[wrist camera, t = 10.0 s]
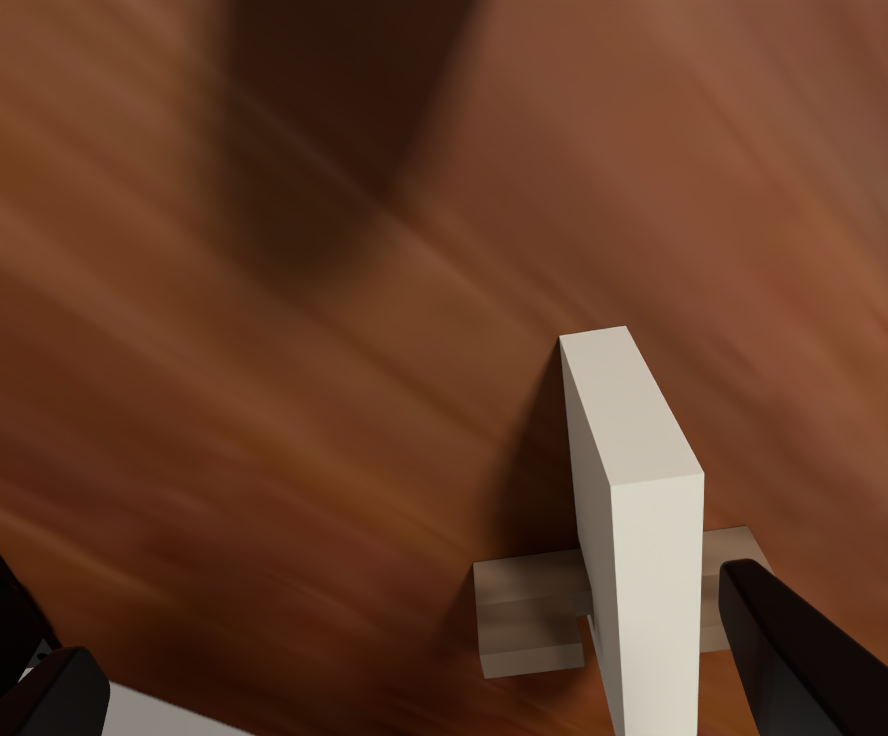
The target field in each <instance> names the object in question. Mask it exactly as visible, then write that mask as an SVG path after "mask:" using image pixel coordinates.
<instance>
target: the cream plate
mask: <svg viewBox="0 0 888 736" xmlns="http://www.w3.org/2000/svg"><path fill="white" fill-rule="evenodd" d="M559 339H560V350H561V360H562V371H563V381H564V392H565V403H566V413H567V424H568V435H569V445H570V456H571V466H572V477H573V488H574V498H575V509H576V519H577V530H578V538H579V542H580V545H581V549H582V553H583V557H584V561H585V565H586V569H587V573H588V577H589V581H590V585H591V589H592V598H593V610H594V614H593V615H587V617H588V622H589V626H590V630H591V634H592V638H593V643H594V647H595V651H596V655H597V660H598V664H599V668H600V672H601V676H602V681H603V685H604V689H605V693H606V697H607V702H608V706H609V710H610V714H611V718H612V723H613V727H614V731H615V735H616V736H697V711H698V676H699V640H700V605H701V570H702V535H703V499H704V472H703V470H702V468H701V466H700V464H699V463H698V461H697V459H696V457H695V455H694V453H693V451H692V449H691V448H690V446H689V444H688V442H687V440H686V438H685V436H684V434H683V433H682V431H681V429H680V427H679V425H678V423H677V421H676V419H675V418H674V416H673V414H672V412H671V410H670V408H669V406H668V404H667V403H666V401H665V399H664V397H663V395H662V393H661V391H660V389H659V388H658V386H657V384H656V382H655V380H654V378H653V376H652V374H651V373H650V371H649V369H648V367H647V365H646V363H645V361H644V359H643V358H642V356H641V354H640V352H639V350H638V348H637V346H636V344H635V343H634V341H633V339H632V337H631V335H630V333H629V331H628V329H627V328H626V326H620V327H614V328H607V329H601V330H594V331H588V332H581V333H575V334H568V335H562V336H559Z"/></svg>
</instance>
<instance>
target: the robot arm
mask: <svg viewBox="0 0 888 736" xmlns="http://www.w3.org/2000/svg"><path fill="white" fill-rule="evenodd" d="M718 608H719V614H720V618H721V621H722V624H723V627H724V630H725V634H726V637H727V640H728V643H729V646H730V649H731V652H732V655H733V658H734V661H735V664H736V667H737V670H738V673H739V676H740V679H741V682H742V685H743V688H744V691H745V694H746V697H747V700H748V703H749V706H750V709H751V712H752V715H753V718H754V721H755V724H756V727H757V729H758V732H759V735H760V736H888V666H886V665H885V664H884V663H883V662H881V661H880V660H879V659H878V658H876V657H875V656H874V655H873V654H871V653H870V652H869V651H868V650H866V649H865V648H864V647H863V646H861V645H860V644H859V643H858V642H856V641H855V640H854V639H853V638H851V637H850V636H849V635H848V634H846V633H845V632H844V631H843V630H842V629H840V628H839V627H838V626H837V625H835V624H834V623H833V622H832V621H830V620H829V619H828V618H827V617H825V616H824V615H823V614H822V613H820V612H819V611H818V610H817V609H815V608H814V607H813V606H812V605H810V604H809V603H808V602H807V601H805V600H804V599H803V598H802V597H800V596H799V595H798V594H797V593H795V592H794V591H793V590H792V589H790V588H789V587H788V586H787V585H786V584H784V583H783V582H782V581H781V580H779V579H778V578H777V577H776V576H774V575H773V574H772V573H771V572H769V571H768V570H767V569H766V568H764V567H763V566H762V565H761V564H759V563H758V562H757V561H755V560H753V559H750V558H744V559H737V560H729V561H724V562H722V563H721V565H720V568H719V589H718ZM32 667H34V668H33V669H32V670H31V671H30V672H29V673H28V674H27V675H26V676H25V677H24V678H23V679H22V680H21V681H20V682H18V681H19V679H20V677H21V676H22V674H23V672H24V671H25V669H26V668H32ZM109 699H110V684H109V681H108V678H107V677H106V675H105V674H104V672H103V671H102V669H101V668H100V666H99V665H98V663H97V662H96V660H95V658H94V657H93V655H92V654H91V652H90V651H89V650H88V649H87V648H85V647H83V646H74V647H67V648H61V647H60V646H59V644H58V643H57V641H56V640H55V638H54V637H53V636H52V634H51V633H50V631H49V630H48V628H47V627H46V625H45V624H44V622H43V621H42V619H41V618H40V617H39V615H38V614H37V612H36V611H35V609H34V608H33V606H32V605H31V603H30V602H29V601H28V599H27V598H26V596H25V595H24V593H23V592H22V590H21V589H20V587H19V586H18V585H17V583H16V582H15V580H14V579H13V577H12V576H11V574H10V573H9V571H8V570H7V568H6V567H5V566H4V564H3V563H2V561H1V560H0V736H101V734H102V730H103V726H104V721H105V716H106V712H107V707H108V703H109Z"/></svg>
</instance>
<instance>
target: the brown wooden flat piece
mask: <svg viewBox="0 0 888 736" xmlns="http://www.w3.org/2000/svg"><path fill="white" fill-rule="evenodd" d="M744 558H750V559H753V560H755V561H757V562H758V563H759V564H761V565H762V566H763V567H764V568H766V569H767V570H768V571H769V572H771V573H772V574H773V575H774V573H773V571H772V569H771V567H770V566H769V564H768V562H767V560H766V559H765V557H764V555H763V553H762V551H761V550H760V548H759V546H758V544H757V542H756V541H755V539H754V537H753V535H752V533H751V532H750V530H749V528H748V526H742V527H734V528H727V529H719V530H712V531H705V532H703V535H702V570H701V605H700V640H699V653H701V652H709V651H717V650H725V649H730V646H729V643H728V640H727V637H726V634H725V630H724V627H723V624H722V621H721V618H720V614H719V608H718V589H719V568H720V565H721V563H722V562H724V561H729V560H737V559H744ZM473 567H474V582H475V596H476V611H477V626H478V640H479V655H480V660H481V664H482V669H483V673H484V678H485V679H488V678H496V677H505V676H513V675H521V674H529V673H537V672H545V671H554V670H562V669H570V668H578V667H585V664H584V655H583V646H582V640H581V635H580V631H579V626H578V622H577V616H585V615H593V614H594V610H593V598H592V589H591V585H590V581H589V577H588V573H587V569H586V565H585V561H584V557H583V553H582V549H581V548H578V549H571V550H564V551H556V552H549V553H541V554H534V555H527V556H519V557H512V558H504V559H497V560H489V561H482V562H475V563H473ZM774 576H775V575H774Z"/></svg>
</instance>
